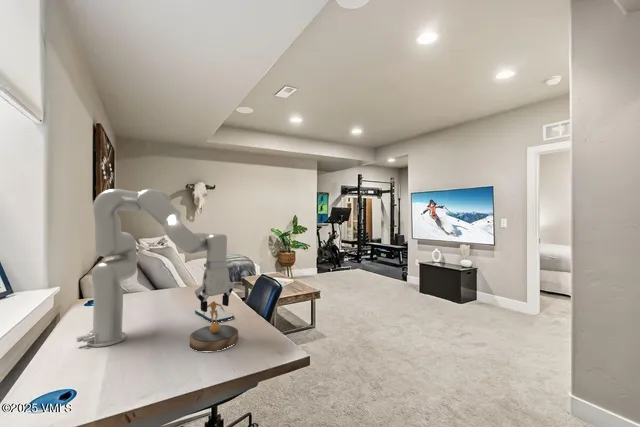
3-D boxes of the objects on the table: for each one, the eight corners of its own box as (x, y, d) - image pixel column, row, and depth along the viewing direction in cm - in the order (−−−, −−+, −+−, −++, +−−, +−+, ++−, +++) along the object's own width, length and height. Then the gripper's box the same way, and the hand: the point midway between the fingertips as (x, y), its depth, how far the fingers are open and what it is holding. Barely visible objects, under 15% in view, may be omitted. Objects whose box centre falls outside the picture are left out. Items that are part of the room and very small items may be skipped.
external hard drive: (192, 313, 153) (192, 309, 153) (214, 308, 161) (214, 305, 161) (213, 325, 136) (213, 321, 136) (236, 319, 144) (236, 315, 144)
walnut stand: (207, 357, 104) (207, 345, 104) (180, 343, 115) (180, 333, 115) (247, 340, 119) (247, 330, 119) (220, 330, 129) (220, 320, 129)
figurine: (205, 336, 112) (206, 305, 112) (200, 332, 117) (201, 301, 117) (226, 332, 117) (227, 301, 117) (221, 327, 122) (222, 298, 122)
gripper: (202, 268, 108) (200, 315, 108) (239, 263, 122) (238, 305, 122) (190, 266, 112) (189, 311, 112) (228, 261, 126) (227, 301, 126)
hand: (215, 308), depth 117 cm, fingers open, 9 cm apart
